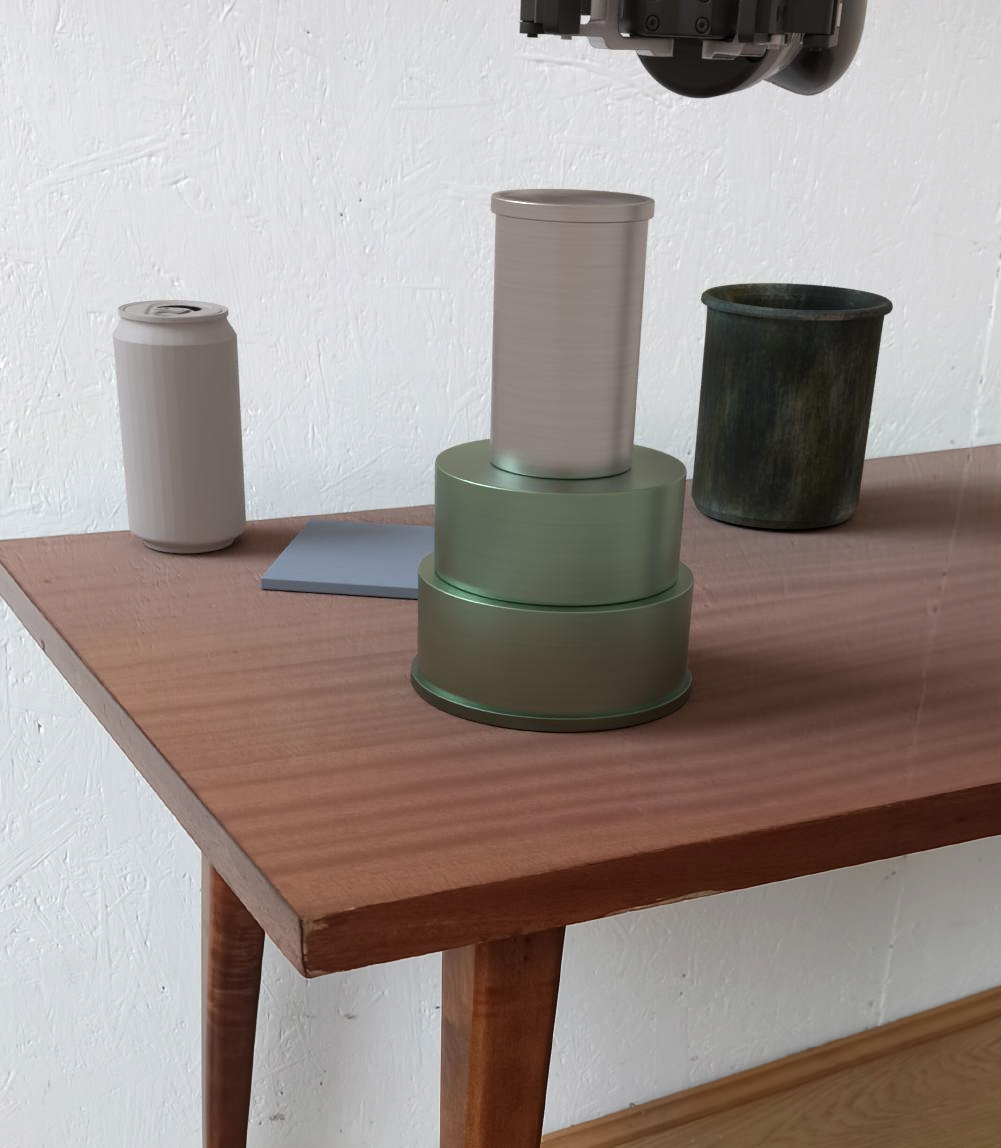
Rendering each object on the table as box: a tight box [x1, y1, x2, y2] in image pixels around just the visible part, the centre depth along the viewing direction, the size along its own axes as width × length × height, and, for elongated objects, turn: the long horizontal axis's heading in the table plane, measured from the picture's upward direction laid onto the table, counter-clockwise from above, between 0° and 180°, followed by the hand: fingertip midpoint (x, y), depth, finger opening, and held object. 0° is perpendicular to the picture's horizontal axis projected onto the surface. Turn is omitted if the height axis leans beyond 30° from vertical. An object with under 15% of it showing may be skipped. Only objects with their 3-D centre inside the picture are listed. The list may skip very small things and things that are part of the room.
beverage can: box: [112, 299, 247, 554], centre depth 92 cm, size 6×6×12 cm
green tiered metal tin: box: [410, 438, 695, 733], centre depth 75 cm, size 13×13×10 cm
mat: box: [260, 518, 434, 600], centre depth 93 cm, size 12×12×1 cm
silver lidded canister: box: [489, 188, 656, 479], centre depth 70 cm, size 6×6×10 cm
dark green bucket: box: [690, 282, 894, 530], centre depth 103 cm, size 11×15×12 cm
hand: (648, 8), depth 73 cm, fingers open, 8 cm apart
